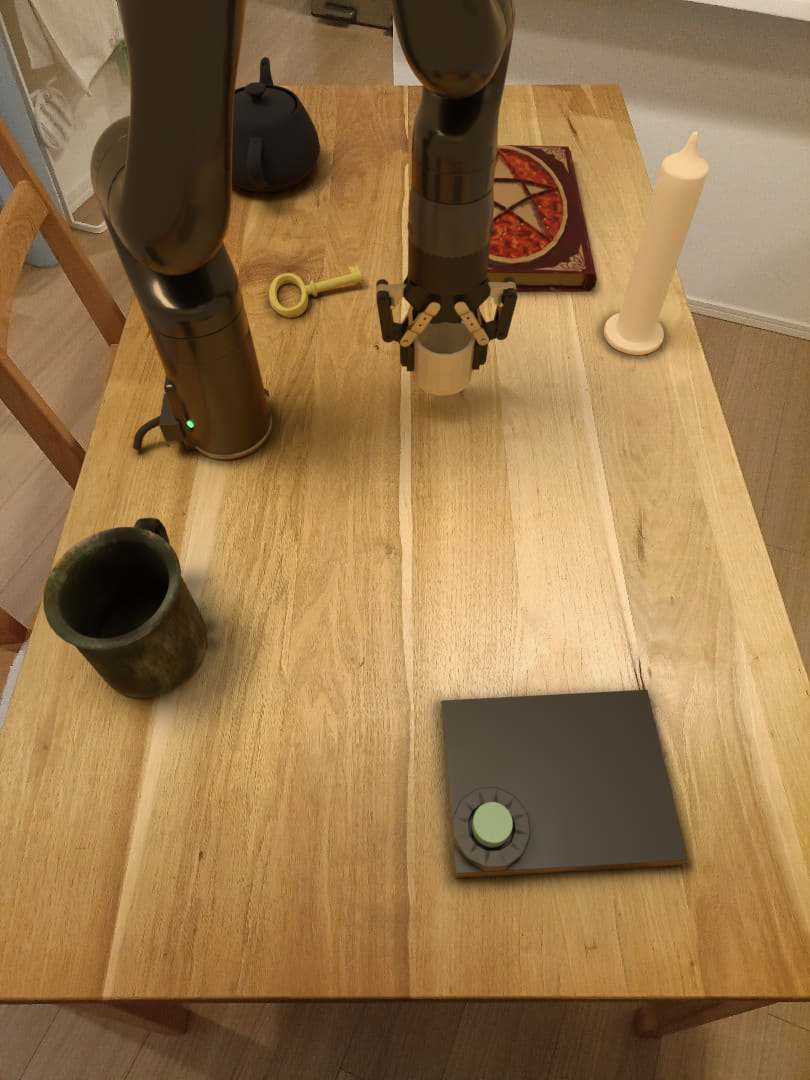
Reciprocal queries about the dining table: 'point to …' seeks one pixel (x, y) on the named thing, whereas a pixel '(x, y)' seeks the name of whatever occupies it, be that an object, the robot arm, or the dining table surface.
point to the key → (308, 289)
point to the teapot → (271, 137)
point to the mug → (127, 609)
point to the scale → (560, 783)
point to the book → (539, 221)
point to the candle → (658, 252)
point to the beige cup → (443, 358)
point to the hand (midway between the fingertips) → (442, 364)
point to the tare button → (492, 824)
